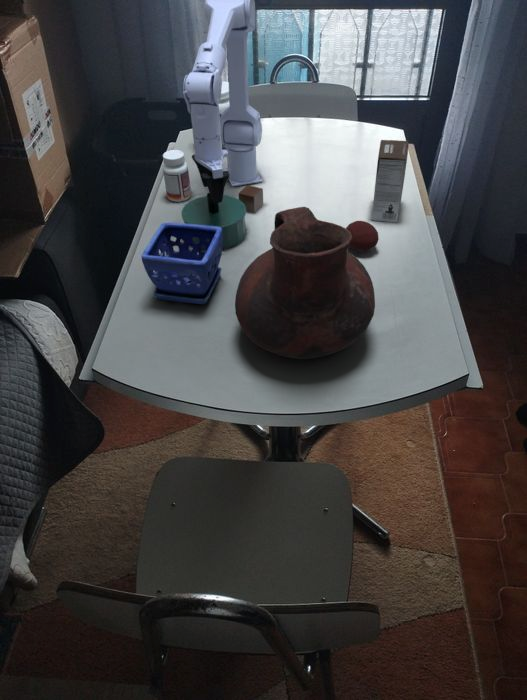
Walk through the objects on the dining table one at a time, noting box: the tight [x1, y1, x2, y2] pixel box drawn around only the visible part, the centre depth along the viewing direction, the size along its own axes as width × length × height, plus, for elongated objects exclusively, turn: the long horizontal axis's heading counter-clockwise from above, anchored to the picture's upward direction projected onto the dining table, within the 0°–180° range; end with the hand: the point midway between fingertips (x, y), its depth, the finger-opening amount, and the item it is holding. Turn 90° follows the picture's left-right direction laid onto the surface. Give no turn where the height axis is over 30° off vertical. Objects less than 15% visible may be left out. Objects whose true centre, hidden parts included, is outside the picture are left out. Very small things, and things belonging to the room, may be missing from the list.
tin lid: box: [181, 192, 247, 229], centre depth 134 cm, size 15×15×5 cm
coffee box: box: [371, 139, 410, 223], centre depth 138 cm, size 9×6×16 cm
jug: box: [234, 206, 376, 360], centre depth 104 cm, size 25×25×25 cm
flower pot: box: [141, 222, 223, 305], centre depth 120 cm, size 13×13×12 cm
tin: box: [183, 216, 247, 251], centre depth 137 cm, size 14×14×6 cm
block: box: [237, 184, 264, 214], centre depth 146 cm, size 4×4×4 cm
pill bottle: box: [162, 149, 192, 203], centre depth 148 cm, size 6×6×11 cm
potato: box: [346, 220, 380, 252], centre depth 131 cm, size 7×8×6 cm
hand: (212, 193), depth 132 cm, fingers open, 7 cm apart
